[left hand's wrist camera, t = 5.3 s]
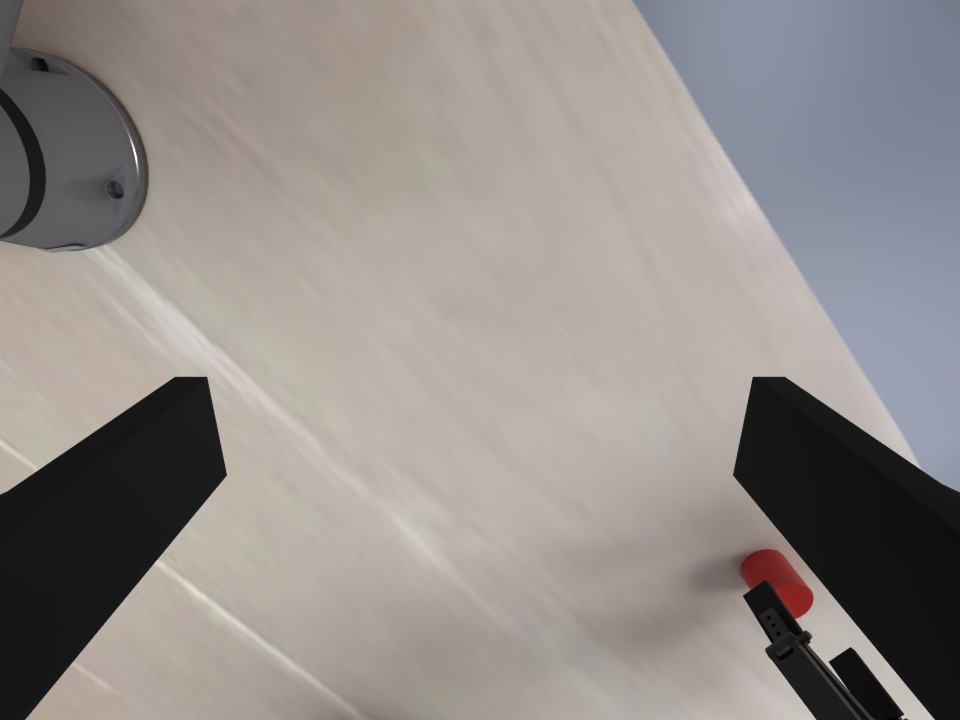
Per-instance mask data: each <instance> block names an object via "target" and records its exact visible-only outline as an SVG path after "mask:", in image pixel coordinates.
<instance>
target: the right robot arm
mask: <svg viewBox="0 0 960 720" xmlns="http://www.w3.org/2000/svg"><path fill="white" fill-rule="evenodd" d="M743 597H744V599H745V600H746V602H747V604H748V605H749V607H750V609H751V610H752V612H753V614H754V615H755V617H756V618H757V620H758V622H759V623H760V625H761V627H762V628H763V630H764V632H765V633H766V635H767V636H768V638H769V640H770V641H771V643H772V644H771V645H770V646H768V647H767V648H766V649H765V650H766V653H767V655H768V657H769V658H770V659H771V660H772V661H773V662H774V663H775V665H776V666H777V667H778V669H779V670H780V671H781V673H782V674H783V675H784V677H785V678H786V680H787V681H788V682H789V684H790V685H791V686H792V688H793V689H794V690H795V692H796V693H797V694H798V696H799V697H800V698H801V700H802V701H803V702H804V704H805V705H806V706H807V708H808V709H809V710H810V712H811V713H812V714H813V716H814V717H815V718H816V720H902V718H901V716H903V715H904V713H903V712H902V711H901V709H900V708H899V707H898V706H897V704H896V703H895V702H894V700H893V699H892V698H891V696H890V695H889V694H888V693H887V691H886V690H885V689H884V687H883V686H882V685H881V684H880V682H879V681H878V680H877V678H876V677H875V676H874V674H873V673H872V672H871V671H870V669H869V668H868V667H867V665H866V664H865V663H864V662H863V660H862V659H861V658H860V656H859V655H858V654H857V652H856V651H855V650H854V649H852V648H851V647H850V648H849V649H847V650H846V651H844V652H843V653H841V654H840V655H838V656H837V657H835V658H834V659H832V660H831V661H829V663H830V665H831V666H832V667H833V669H834V670H835V672H836V673H837V675H838V676H839V677H840V679H841V680H842V682H843V683H844V684H845V686H846V687H847V689H848V690H849V691H848V690H847V689H846V687H845V686H844V685H843V684H842V683H841V682H840V681H839V679H838V678H837V677H836V676H835V675H834V674H833V673H832V672H831V670H830V669H829V668H828V667H827V666H826V665H825V664H824V662H823V661H822V660H821V659H820V658H819V657H818V656H817V654H816V653H815V652H814V651H813V650H812V649H811V648H810V646H809V645H808V644H809V643H810V639H811V638H812V635H811V634H810V633H809V632H808V631H806V630H805V631H804V632H803V630H802V629H801V627H800V626H799V625H798V623H797V622H796V620H795V619H794V617H793V616H792V614H791V613H790V612H789V610H788V609H787V607H786V606H785V604H784V603H783V601H782V600H781V599H780V597H779V596H778V594H777V593H776V591H775V590H774V588H773V587H772V586H771V584H770V583H769V582H768V581H766V580H763V581H762V582H761V583H759V584H758V585H757V586H755V587H754V588H753V589H751V590H750V591H749V592H747V593H746V594H745V595H743ZM904 720H908V719H907V718H906V719H904Z"/></svg>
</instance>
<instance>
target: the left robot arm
mask: <svg viewBox="0 0 960 720" xmlns="http://www.w3.org/2000/svg"><path fill="white" fill-rule="evenodd" d="M22 4H23V0H0V241H4V242H9V243H14V244H19V245H24V246H29V247H35V248H39V249H45V250H41V251H47V252H53V253H54V252H62V251H78V250H85V249H90V248H94V247H98V246H102V245H105V244H108V243H110V242H112V241H114V240H116V239H117V238H119V237H120V236H122V235H123V234H124V233H125V232H126V231H127V230H129V229H130V227H131V226H132V225H133V224H134V222H135V221H136V219H137V218H138V216H139V214H140V212H141V210H142V208H143V205H144V202H145V198H146V194H147V187H148V168H147V161H146V156H145V152H144V148H143V145H142V142H141V139H140V136H139V134H138V132H137V129H136V127H135V125H134V124H133V122H132V120H131V118H130V116H129V115H128V113H127V112H126V110H125V109H124V107H123V106H122V105H121V103H120V102H119V101H118V99H117V98H116V97H115V96H114V95H113V94H112V93H111V92H110V91H109V90H108V89H107V88H106V87H105V86H104V85H103V84H102V83H101V82H100V81H99V80H97V79H96V78H95V77H94V76H92V75H91V74H90V73H88V72H87V71H85V70H84V69H82V68H80V67H79V66H77V65H75V64H73V63H71V62H69V61H67V60H65V59H62V58H59V57H57V56H53V55H50V54H46V53H42V52H38V51H35V50H30V49H24V48H11V44H12V40H13V36H14V33H15V29H16V25H17V22H18V18H19V15H20V11H21V7H22ZM226 476H227V473H226V468H225V463H224V458H223V453H222V448H221V443H220V438H219V433H218V428H217V423H216V419H215V414H214V409H213V404H212V399H211V394H210V389H209V384H208V379H207V377H174V378H173V379H171V380H170V381H168V382H167V383H166V384H164V385H163V386H161V387H160V388H158V389H157V390H155V391H154V392H152V393H151V394H149V395H148V396H146V397H145V398H144V399H142V400H141V401H139V402H138V403H136V404H135V405H133V406H132V407H130V408H129V409H127V410H126V411H125V412H123V413H122V414H120V415H119V416H117V417H116V418H114V419H113V420H111V421H110V422H108V423H107V424H105V425H104V426H103V427H101V428H100V429H98V430H97V431H95V432H94V433H92V434H91V435H89V436H88V437H86V438H85V439H84V440H82V441H81V442H79V443H78V444H76V445H75V446H73V447H72V448H70V449H69V450H67V451H66V452H64V453H63V454H62V455H60V456H59V457H57V458H56V459H54V460H53V461H51V462H50V463H48V464H47V465H45V466H44V467H43V468H41V469H40V470H38V471H37V472H35V473H34V474H32V475H31V476H29V477H28V478H26V479H25V480H23V481H22V482H21V483H19V484H18V485H16V486H15V487H13V488H12V489H10V490H9V491H7V492H5V493H3V494H1V495H0V720H25V719H26V718H27V717H28V716H29V714H30V713H31V712H32V711H33V710H34V708H35V707H36V706H37V705H38V703H39V702H40V701H41V700H42V699H43V697H44V696H45V695H46V694H47V693H48V691H49V690H50V689H51V688H52V687H53V685H54V684H55V683H56V682H57V680H58V679H59V678H60V677H61V676H62V674H63V673H64V672H65V671H66V670H67V668H68V667H69V666H70V665H71V663H72V662H73V661H74V660H75V659H76V657H77V656H78V655H79V654H80V653H81V651H82V650H83V649H84V648H85V647H86V645H87V644H88V643H89V642H90V640H91V639H92V638H93V637H94V636H95V634H96V633H97V632H98V631H99V630H100V628H101V627H102V626H103V625H104V624H105V622H106V621H107V620H108V619H109V617H110V616H111V615H112V614H113V613H114V611H115V610H116V609H117V608H118V607H119V605H120V604H121V603H122V602H123V601H124V599H125V598H126V597H127V596H128V594H129V593H130V592H131V591H132V590H133V588H134V587H135V586H136V585H137V584H138V582H139V581H140V580H141V579H142V578H143V576H144V575H145V574H146V573H147V571H148V570H149V569H150V568H151V567H152V565H153V564H154V563H155V562H156V561H157V559H158V558H159V557H160V556H161V554H162V553H163V552H164V551H165V550H166V548H167V547H168V546H169V545H170V544H171V542H172V541H173V540H174V539H175V538H176V536H177V535H178V534H179V533H180V531H181V530H182V529H183V528H184V527H185V525H186V524H187V523H188V522H189V521H190V519H191V518H192V517H193V516H194V515H195V513H196V512H197V511H198V510H199V508H200V507H201V506H202V505H203V504H204V502H205V501H206V500H207V499H208V498H209V496H210V495H211V494H212V493H213V492H214V490H215V489H216V488H217V487H218V485H219V484H220V483H221V482H222V481H223V479H224V478H225V477H226ZM733 476H734V477H735V478H736V479H737V481H738V482H739V483H740V484H741V485H742V487H743V488H744V489H745V490H746V492H747V493H748V494H749V495H750V496H751V498H752V499H753V500H754V501H755V502H756V504H757V505H758V506H759V507H760V508H761V510H762V511H763V512H764V513H765V515H766V516H767V517H768V518H769V519H770V521H771V522H772V523H773V524H774V525H775V527H776V528H777V529H778V530H779V531H780V533H781V534H782V535H783V536H784V538H785V539H786V540H787V541H788V542H789V544H790V545H791V546H792V547H793V548H794V550H795V551H796V552H797V553H798V555H799V556H800V557H801V558H802V559H803V561H804V562H805V563H806V564H807V565H808V567H809V568H810V569H811V570H812V571H813V573H814V574H815V575H816V576H817V578H818V579H819V580H820V581H821V582H822V584H823V585H824V586H825V587H826V588H827V590H828V591H829V592H830V593H831V594H832V596H833V597H834V598H835V599H836V601H837V602H838V603H839V604H840V605H841V607H842V608H843V609H844V610H845V611H846V613H847V614H848V615H849V616H850V617H851V619H852V620H853V621H854V622H855V624H856V625H857V626H858V627H859V628H860V630H861V631H862V632H863V633H864V634H865V636H866V637H867V638H868V639H869V640H870V642H871V643H872V644H873V645H874V647H875V648H876V649H877V650H878V651H879V653H880V654H881V655H882V656H883V657H884V659H885V660H886V661H887V662H888V663H889V665H890V666H891V667H892V668H893V670H894V671H895V672H896V673H897V674H898V676H899V677H900V678H901V679H902V680H903V682H904V683H905V684H906V685H907V687H908V688H909V689H910V690H911V691H912V693H913V694H914V695H915V696H916V697H917V699H918V700H919V701H920V702H921V703H922V705H923V706H924V707H925V708H926V710H927V711H928V712H929V713H930V714H931V716H932V717H933V718H934V719H935V720H960V492H958V491H955V490H953V489H951V488H949V487H947V486H945V485H943V484H941V483H939V482H938V481H937V480H935V479H934V478H932V477H931V476H929V475H928V474H926V473H925V472H923V471H922V470H920V469H919V468H917V467H916V466H915V465H913V464H912V463H910V462H909V461H907V460H906V459H904V458H903V457H901V456H900V455H898V454H897V453H896V452H894V451H893V450H891V449H890V448H888V447H887V446H885V445H884V444H882V443H881V442H879V441H878V440H876V439H875V438H874V437H872V436H871V435H869V434H868V433H866V432H865V431H863V430H862V429H860V428H859V427H857V426H856V425H855V424H853V423H852V422H850V421H849V420H847V419H846V418H844V417H843V416H841V415H840V414H838V413H837V412H835V411H834V410H833V409H831V408H830V407H828V406H827V405H825V404H824V403H822V402H821V401H819V400H818V399H816V398H815V397H814V396H812V395H811V394H809V393H808V392H806V391H805V390H803V389H802V388H800V387H799V386H797V385H796V384H794V383H793V382H792V381H790V380H789V379H787V378H786V377H753V379H752V384H751V389H750V394H749V399H748V404H747V409H746V414H745V419H744V423H743V428H742V433H741V438H740V443H739V448H738V453H737V458H736V463H735V468H734V473H733Z"/></svg>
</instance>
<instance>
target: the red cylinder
mask: <svg viewBox="0 0 960 720" xmlns="http://www.w3.org/2000/svg"><path fill="white" fill-rule="evenodd" d="M741 574H742V577H743V579H744V580H745V582H746V583H747V585H748V587H749V588H750V590H751V589H753V588H754V587H755V586H757V585H758V584H759V583H761V582H762V581H763V580H766V581H768V582H769V583H770V584H771V586H772V587H773V588H774V590H775V591H776V593H777V594H778V596H779V597H780V599H781V600H782V601H783V603H784V604H785V606H786V607H787V609H788V610H789V612H790V613H791V614H792V616H793V617H794V619H796V618H799V617H801V616H802V615H804V614H805V613H806V612H807V611H808V610H809V609H810V608H811V606H812V604H813V593H812V591H811V590H810V589H809V587H808V586H807V585H806V584H805V582H804V581H803V580H802V578H801V577H800V576H799V575H798V573H797V572H796V571H795V569H794V568H793V567H792V566H791V564H790V563H789V562H788V561H787V559H786V558H785V557H784V556H783V555H782V554H781V553H779V552H777V551H774V550H763V551H759V552H756V553H754V554H752V555H751V556H749V557H748V558H747V559H746V560H745V562H744V563H743V565H742V568H741Z"/></svg>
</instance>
